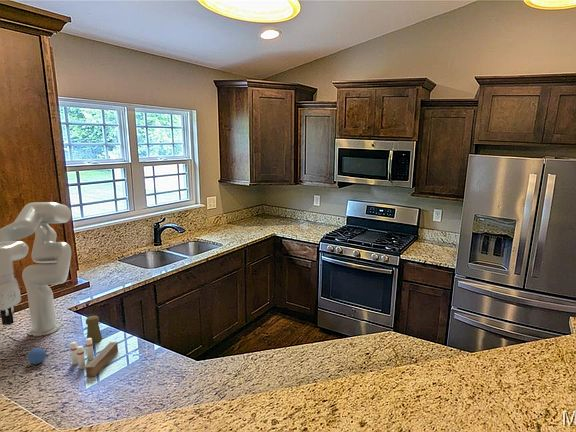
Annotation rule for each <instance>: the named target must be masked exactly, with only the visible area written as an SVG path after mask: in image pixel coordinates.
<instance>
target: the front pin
mask: <svg viewBox="0 0 576 432" xmlns="http://www.w3.org/2000/svg"><path fill="white" fill-rule="evenodd" d="M69 347H70V354H71V355H70V356H71V364H72V366H73V365H78V356H77V347H78V342H77V341H72V342H70V343H69Z"/></svg>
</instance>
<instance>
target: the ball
mask: <svg viewBox="0 0 576 432" xmlns="http://www.w3.org/2000/svg"><path fill="white" fill-rule="evenodd" d="M46 356H47V352H46V350H45V349H44V348H43V347H42V348H41V347H35V348H32V349H31V350H30V351H28V354H27V361H28V362H29V363H30V364H32V365H38V364H40V363H43V361H45V359H46Z"/></svg>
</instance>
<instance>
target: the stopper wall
mask: <svg viewBox="0 0 576 432" xmlns="http://www.w3.org/2000/svg"><path fill="white" fill-rule="evenodd" d="M118 346H119V345H118V342H117V341H114V342H113V341H109V342H108V344H107V345H105V347H104V348H103V349H102V350H100V352H99V353H98V354H97V355H96V356H94V359H93V360H90V362H89V363H88V364H87V365H85V371H86V372H85V373H86V377H87V378H96V376H97V375H99V374H100V372H101V371H102V370H103V369H104V368H105V367H106V365H107V364H108V363H109V362H110V361H111V360H112V359H111V358H114V356H115V355H116V354H117V353H118V352H119V348H118ZM110 359H111V360H110ZM109 360H110V361H109ZM102 368H103V369H102Z"/></svg>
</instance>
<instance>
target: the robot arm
mask: <svg viewBox="0 0 576 432" xmlns="http://www.w3.org/2000/svg"><path fill="white" fill-rule="evenodd" d="M71 217H72V211H71V209H70V208H69V206H67V205H65V204H62V203H58V202H54V201H46V202H45V201H42V202H41V201H39V202H38V201H37V202H36V201H35V202H29V203H27V204H26V205H24V206H23V207H22V209H21V210H20V212H19V214H18V216H17V217H16V218H15V220H14V221H13V222H11V223H10V224H7V225H5V226H4V227H1V228H0V318H1V325H3V326H11V325H12V324H14V315H13V314H14V309H15V307H16V306H17V305H18V304H19V303H21V301H22V295H21V290H20V286H19V283H18V280H17V278H16V277H15V270H14V263H13V262H14V261H20V260H22V259H24V258H25V257H26V256H27V255H28V254H29V251H30V250H29V245H28V244H27V243H26V242H24V241H21V239H22V240H23V239H25V238H28V237H30V236H31V235H34V234H35V236H34V240H33V244H32V250H31V254H30V255H31V256H30V257H31V261H32V262H34V263H37V264H31V265H27V266H25V267H24V269H23V270H22V273H21V278H22V281H23V284H24V286H25V290H26V294H27V301H28V302H27V303H28V309H29V316H30V317H29V318H30V326H31V327H29V329H28V331H27V335H29V336H30V335H33V336H32V337H42V335H43V336H47V335H49V334H53V333H55V332H57V331H58V330H59V329H60V328H61V323H59V322H58V321H56V319H57V318H56V311H55V302H54V301H55V300H54V293H53V291H52V288H51V287H50V286H51V285H61V284H64V283H65V282H66V281H67V280H68V278H69V277H68V276H69V271H70V266H71V265H70V264H71V259H72V248H71V245H70V244H69V243H68V242H65V241H57V237H58V236H57V232H56V230H54V228H53V227H51V226H50V225H49V224H65V223H68V222H70V220H71ZM49 285H50V286H49Z"/></svg>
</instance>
